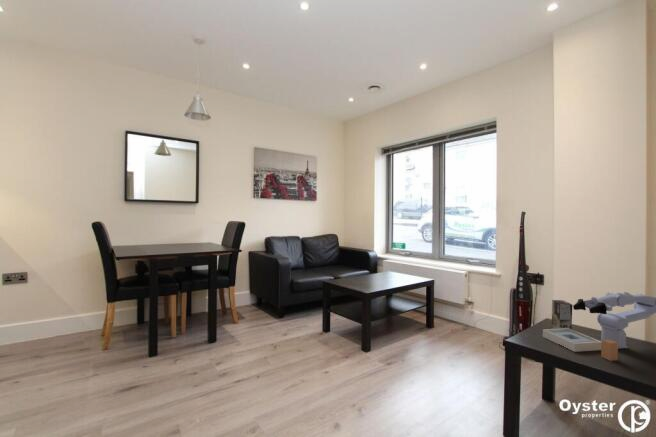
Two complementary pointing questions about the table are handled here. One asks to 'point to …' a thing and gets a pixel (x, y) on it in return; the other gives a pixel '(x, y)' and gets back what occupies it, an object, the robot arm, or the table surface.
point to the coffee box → (561, 314)
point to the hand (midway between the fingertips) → (581, 309)
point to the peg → (609, 350)
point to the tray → (570, 344)
